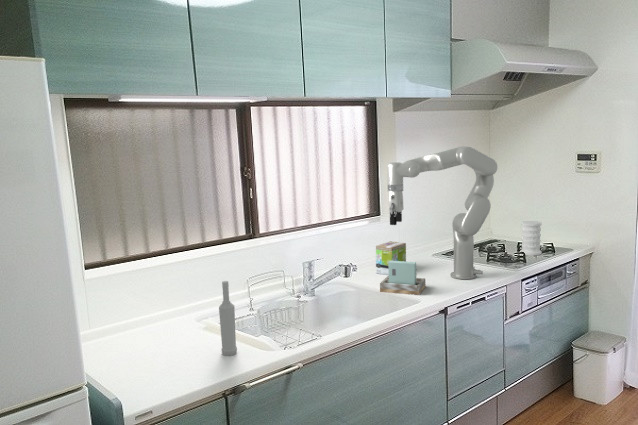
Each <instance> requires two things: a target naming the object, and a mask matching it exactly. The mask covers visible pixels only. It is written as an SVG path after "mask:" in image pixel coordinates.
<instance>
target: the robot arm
mask: <svg viewBox="0 0 638 425" xmlns="http://www.w3.org/2000/svg"><path fill="white" fill-rule="evenodd" d="M461 165H466V166H467V167H469V168H471V169H472V170H473V172H474V174H475V181H474V184H473V186H472V189H471V190H470V192H469V194H468V196H467V197H466V199H465V202H464V208H465V209H466V210H467V212H460V213H457V214H456V215H455V216H454V217H453V218H452V224H451V225H452V232H453V233H452V234H453V271H452V272H451V273H450V277H451V278H453V279H456V280H473V279H476V278H477V276H478V275H483V274H484V273H483V272H484V271H483V270H481V269H476V267H475V266H474V256H475V255H474V251H475V250H474V244H475V239H474V235H476V234H477V233H479V232H480V229H481V228H482V226H483V224H484V223H485V221H486V219H487V217H488V216H489V213H490V211H491V208H492V207H491V201H490V199H489V196H490V194H491V192H492V190H493V187H494V184H495V179H494V178H495V177H494V174H496V173H497V171H498V163H497V162H496V160H495V159H493V157H490V156H488V155H486V154H485V153H482V152H481V151H479V150H477V149H475V148H473V147H471V146H464V145H463V146H458V147H454V148H451V149H447V150H444V151H443V150H442V151H439V152H436V153H432V154H427V155H424V156H421V157H420V156H419V157H415V158H413V159H408V160H406V161H404V162H388V163H387V167H386V169H387V170H386V172H387V174H386V175H387V177H386V178H387V192H388V211H389V225H390V226H397V223H398V222H399V223H402V221H403V210H404V196H403V194H404V193H403V192H404V178H416V177H418V176H420V173H424V172H433V171H435V172H437V171H442V170H443V171H444V170H446V169H450V168H453V167H458V166H461Z"/></svg>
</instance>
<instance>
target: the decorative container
mask: <svg viewBox="0 0 638 425" xmlns="http://www.w3.org/2000/svg"><path fill="white" fill-rule="evenodd" d="M520 225H521V226H522V228H521V230H522V232H521V236H522V238H521V242H522V243H521V249H520V251H523V252H524V253H525V254H526V255H525V256H540V255H543V254H542V252H543V251H542V250H541V249H540V248H541V230H542V229H541V226H542V225H543V224H542V222H541V221H538V220H524V221H521V224H520ZM520 251H519V252H520Z"/></svg>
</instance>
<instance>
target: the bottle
mask: <svg viewBox="0 0 638 425" xmlns="http://www.w3.org/2000/svg"><path fill="white" fill-rule="evenodd" d="M221 287H222V300H223V301H222V302H221V304H220V305H219V306H218V314H219V323H220V337H221V355H223V356H225V357H232V356H234V355H236V354H237V352H238V351H237V350H238V348H237V343H236V341H237V340H236V338H237V337H236V314H235V312H236V311H235V310H236V309H235V305H234V304H233V303H232V302H231V300H230V292H229V281H228V280H224V281H222V282H221Z"/></svg>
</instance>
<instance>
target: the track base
mask: <svg viewBox="0 0 638 425" xmlns="http://www.w3.org/2000/svg"><path fill="white" fill-rule="evenodd" d="M426 286H427V285H426V278H422V277H416V285H409V284H396V283H389V275H386V277H385V278H384V279H383V280H381V281H380V283H379V292H381V293H391V294H401V293H404V295H413V294H414V295H415V296H420V294H421V293H422V292H423V290H425V288H426ZM414 295H413V296H414Z"/></svg>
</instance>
